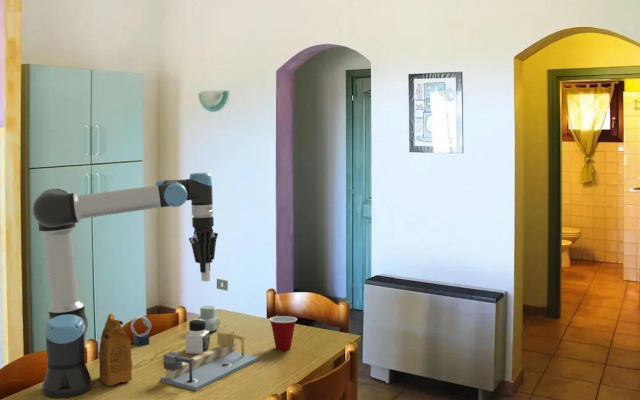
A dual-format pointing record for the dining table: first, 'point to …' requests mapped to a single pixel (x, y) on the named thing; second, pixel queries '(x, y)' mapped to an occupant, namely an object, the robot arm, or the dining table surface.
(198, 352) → the medicine bottle
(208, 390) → the dining table surface
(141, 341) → the grey ring on base
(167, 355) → the trammel beam
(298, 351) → the dining table surface
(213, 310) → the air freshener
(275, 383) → the dining table surface
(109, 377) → the coffee package
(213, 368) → the plate
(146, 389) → the dining table surface
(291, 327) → the plastic cup
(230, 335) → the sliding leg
